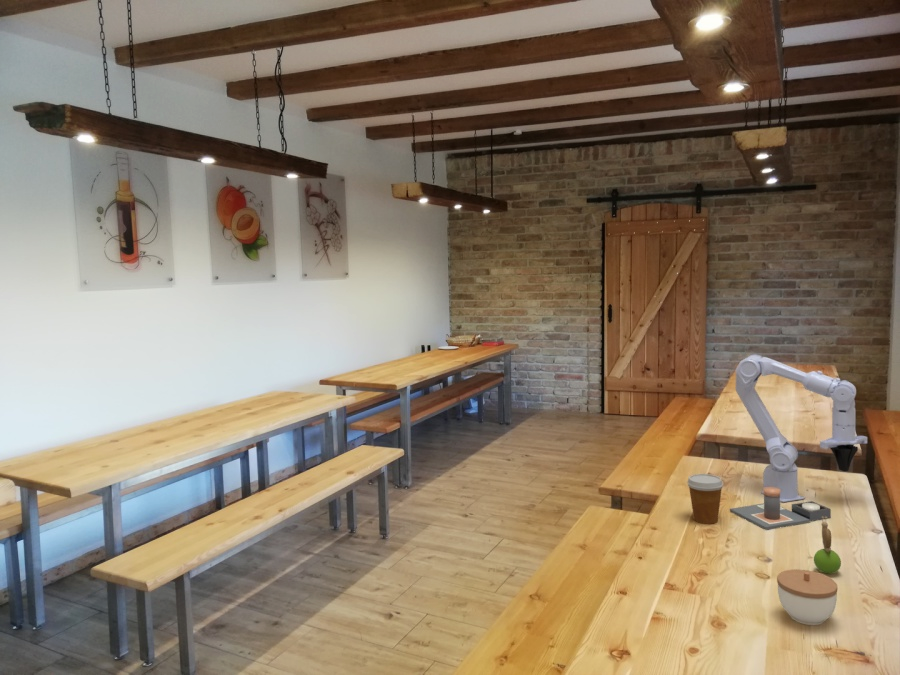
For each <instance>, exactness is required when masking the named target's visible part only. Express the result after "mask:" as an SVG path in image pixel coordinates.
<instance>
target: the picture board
mask: <svg viewBox="0 0 900 675" xmlns="http://www.w3.org/2000/svg"><path fill="white" fill-rule="evenodd" d="M729 512H730V513H732V514H734V515H736V516H738V517H740V518H742V519H744V520H745V519H746V520H745V521H747V522H749V523H752V524H753V525H755V526H757V527H758V528H759V527H760V528H762V529H763V530H765V531H769V530H774V529H780V527H781V528H786V526H787V527H792V525H793V526H798V525H803V524H809V523H811V521H810V520H809V519H807V518H805V517H803V516H800V515H798V514H796V513H794V512H792V510H789V509H787V508H785V507H783V506H780V519H778V520H770V519H766V518H765V517H764V502H763V503H759V504H752V505H746V506H745V505H744V506H738V507H733V508H729Z"/></svg>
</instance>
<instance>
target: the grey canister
mask: <svg viewBox="0 0 900 675" xmlns="http://www.w3.org/2000/svg"><path fill="white" fill-rule="evenodd" d="M762 489H763V490H762V491H764V494H763V503H764V517H765V518H766V519H770V520H778V519H780V507H781V501H780V489H779V488H776V487H765V488H762Z"/></svg>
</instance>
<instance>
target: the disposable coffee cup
mask: <svg viewBox="0 0 900 675" xmlns="http://www.w3.org/2000/svg"><path fill="white" fill-rule="evenodd" d="M686 482H687V483H686V484H687V486H688V489H689V495H690V501H691V509H692V514H693V521H695V522H697V523H698V524H705V525H713V524H716V523H717V522H718V520H719V514H720V505H721V497H722V495H721V494H722V489H723V486H724V482H723V480H722V478H721V477H720V476H718V475H714V474H710V473H708V474H707V473H697V474H692V475H690V476H688V478H687V481H686Z"/></svg>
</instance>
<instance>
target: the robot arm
mask: <svg viewBox="0 0 900 675" xmlns="http://www.w3.org/2000/svg"><path fill="white" fill-rule="evenodd" d="M736 366H737V367H736V369H735V392H736V394H737V396H738V397H739V399H740V401H741V402H742V404H743V406H744V408H745V409H746V411H747V412H748V414H749V416H750V418H751V419H752V422H753V423H754V424H755V426H756V428H757V430H758V432H759V434H760V436H761V437H762V439H763V440H764V442H765V447H766V451H767V453H768V455H769V462H770V464H768V465H767V466H765V467H764V470H763V472H762V474H763V475H762V476H763V479H762V481H763V488H765V487H776V488H779V489H780V503H785V502H786V503H787V502H792V501H800V500H804V499H805V497H804V496H802V495H800V494H798V493H799V492H798V489H799V488H798V482H799V481H798V466H797V465H796V461H797V460H798V457H799V453H798V450H797V448H796V447H795V446H794V445H793V444H791V443H790V442H789V440H788V439H787V437H786V436H784V435H783V434H782V433H781V431H780V429H779V428H778V426H777V424H776V422H775V420H774V419H773V417H772V416H771V414H770V412H769V411H768V409H767V407H766V405H765V403H764V402H763V400H762V399H761V397H760V395H759V394H758V392H757V390H756V388H755V387H756V386H757V383H758V380H759V378H760V377H761V376H762V377H763V376H764V377H765V376H769V375H775V376H778V377H782V378H784V379H788V380H790V381H794V382H796V383H801V384H802V385H803V388H804V389H805V390H807V391H810V392H812V393H814V394H818V395H820V396H823V397H826V398H831V400H832V410H831V411H832V415H831V420H832V421H831V422H832V424H831V425H832V426H831V428H832V431H831V432H832V434H831V436H832V437H831V438H830V437H829V438H827V439H824V440H819V448H820V449H824V450H828V449H830V451H831V452H832V454H833V455H834V458H835V460H836V463H837V467H838V470H839V471H842V472H849V470H850V466H851V464H852V460H853V459H854V456H855V454H857V452H858V451H859V447H858V446H856V445H861V444H864V445H866V444H868V436H864V435H856V402H855V401H856V400H855V398H856V396H857V389H856V388H857V387H856V386H855V385H854V384H853V383H852V382H849V380H845V379H844V380H841V378H839V377H836V378H834V377H831V376H828V375H825V374H824V373H823V371H820V370H817V371H814V370H812V371H809V372H804V371H802V370H800V369H797V368H795V367H792V366H790V365H787V364H785V363H783V362H780V361H777V360H776V359H772V358H769V357H766V356H761V355H759V354H751V355H748V356H747V357H746V358H744V359H742V360H740V362H739V363H738V364H737V365H736ZM763 488H762V489H763ZM760 493H761V494H763V495H764V491H763V490H761V491H760Z"/></svg>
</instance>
